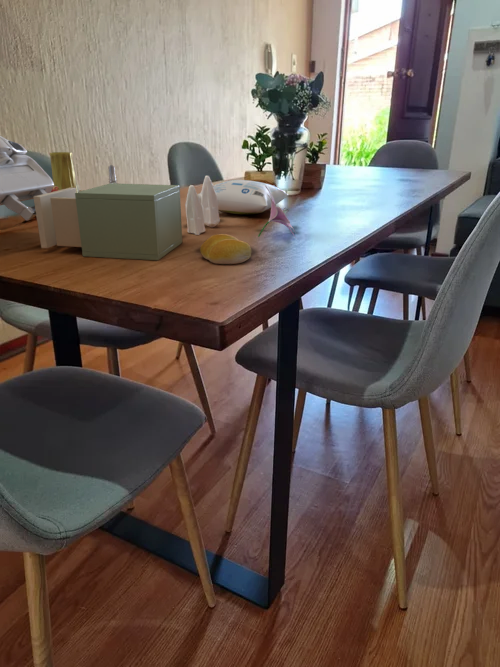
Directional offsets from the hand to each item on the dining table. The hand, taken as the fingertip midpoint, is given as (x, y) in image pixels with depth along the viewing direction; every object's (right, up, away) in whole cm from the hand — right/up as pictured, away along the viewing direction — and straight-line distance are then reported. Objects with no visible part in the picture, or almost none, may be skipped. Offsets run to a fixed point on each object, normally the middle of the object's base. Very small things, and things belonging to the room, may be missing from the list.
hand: (43, 214), depth 94 cm
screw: (+8, +2, +20) cm, 22 cm away
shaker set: (+28, +1, +17) cm, 33 cm away
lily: (+44, -2, +10) cm, 46 cm away
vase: (-9, +9, +37) cm, 39 cm away
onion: (-6, +3, +23) cm, 24 cm away
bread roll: (+34, -9, -7) cm, 36 cm away
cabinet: (+17, -6, -1) cm, 18 cm away
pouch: (+36, +9, +37) cm, 53 cm away
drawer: (+7, -5, +1) cm, 8 cm away
